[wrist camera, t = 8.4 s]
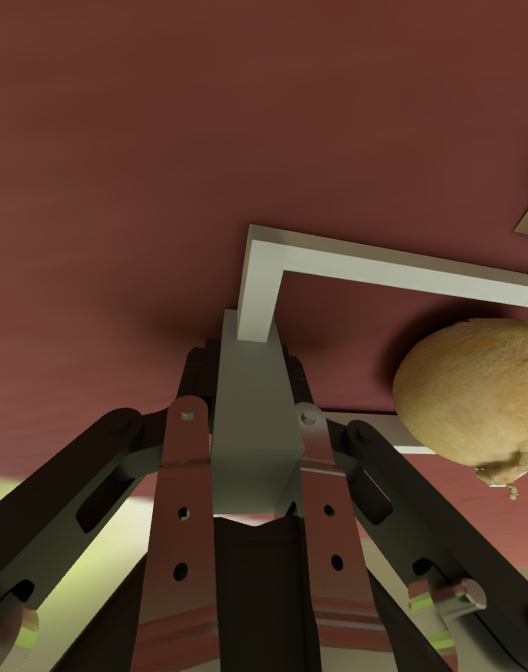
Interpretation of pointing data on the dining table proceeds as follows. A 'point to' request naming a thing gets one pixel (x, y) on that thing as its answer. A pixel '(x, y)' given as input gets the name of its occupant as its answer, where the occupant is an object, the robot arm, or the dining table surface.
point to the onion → (470, 396)
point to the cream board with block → (523, 225)
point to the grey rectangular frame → (269, 365)
